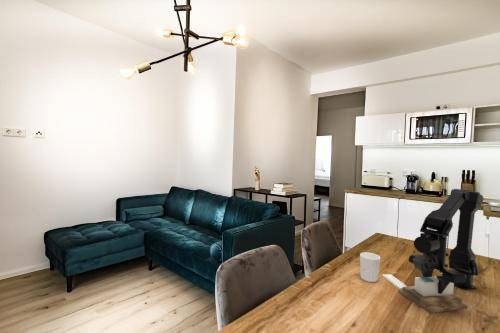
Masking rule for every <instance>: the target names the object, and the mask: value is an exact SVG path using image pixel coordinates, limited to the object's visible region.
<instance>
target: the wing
mask: <svg viewBox="0 0 500 333" xmlns="http://www.w3.org/2000/svg"><path fill="white" fill-rule="evenodd" d="M382 277H383V278H384V279H386V280H387V281H388V282H389V283H391V284H392V285H393V286H395V287H396V288H397V289H403V287H407V285H406V284H405V283H404V282H402V281H401V280H399V279H398V278H397V277H395V276H394V275H392V274H390V273H389V274H382Z"/></svg>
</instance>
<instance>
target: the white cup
mask: <svg viewBox="0 0 500 333" xmlns="http://www.w3.org/2000/svg"><path fill="white" fill-rule="evenodd" d="M380 262H381V256H380V255H378V254H375V253H374V252H373V253H372V252H366V251H365V252H361V253H359V271H360V272H359V273H360V279H361V280H362V281H363V280H364V281H365V282H369V283H375V282H377V281H378V277H379V273H380V264H381V263H380Z"/></svg>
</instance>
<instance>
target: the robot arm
mask: <svg viewBox="0 0 500 333" xmlns="http://www.w3.org/2000/svg"><path fill="white" fill-rule="evenodd" d="M483 201H484V196H483V195H482V194H481V193H480V192H479V191H472V190H466V189H460V188H452V189H451V190H450V194H449V195H448V197H447V198H446V199H445V201H444V202H443V203H442V204H441V206H440V207H439V208H438V209H434V210H432V211H431V212H430V213H428V214H427V215H426V217H425V218H424V220H423V222H422V225H421V227H420V229H419V232H420V233H419V234H420V236H417V237H415V239H414V241H413V246H414V249H415V250H416V251H417V252H418V253H419V254H416V253H415V254H410V255H409V257H408V262H409V263H411V264H413V267H414V268H415V269H418V270H419V272H421V275H422V277H433V274H434V270H435V271H436V272H439V273H440V275H436V276H435V277H437V279H438V293H439V294H441V293H442V292H443V291H444V290H445V288H446V287H447V286H448V284H449V283H450V282H451V283H454V286H456V287H459V288H460V289H463V290H472V289H477V286H475V285H473V279H474V276H476V277H478V276H479V273H480V267H479V265H478V263H477V261H476V255H475V252H474V251H473V249H472V243H473V242H472V241H473V234H474V233H473V232H474V221H475V213H476V212H477V211H479V210H480V208H481V207H482V204H483ZM458 211H459V219H458V225H457V226H458V227H457V237H456V246H455V247H453V248H452V249H451V250H450V251H449V253H448V252H447V245H448V244H447V243H448V242H447V241H448V237H449V234H450V232H451V230H452V228H453V226H454V225H453V224H454V223H453V217H454V216H455V214H456V213H457V212H458ZM420 253H421V254H420ZM446 257H448V263H446ZM447 268H449V269H447Z"/></svg>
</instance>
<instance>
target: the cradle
mask: <svg viewBox="0 0 500 333" xmlns="http://www.w3.org/2000/svg"><path fill="white" fill-rule="evenodd" d="M406 286H407V285H406ZM414 286H415V284H413V285H410V286H409V285H408V286H407V287H403V289H398V288H397V289H398V291H397V292H398V293H399V294H401V295H402V296H404V298H407V299H408V300H410V301H411V302H413V303H414V304H416V305H417V306H418V307H419V308H422V309H423V310H424V311H426V312H428V313H429V314H432V313H433V314H434V313H439V312H440V313H441V312H446V311H447V312H448V311H457V310H458V311H459V310H465V309H467V308H468V304H466V303H464V302H462V299H463V298H462V296H461V295H459V294H458V293H455V294H454V293H453V295H444V296H426V297H423V296H422V295H421V294H419V293H418V292H416V291H415V290H414Z"/></svg>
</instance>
